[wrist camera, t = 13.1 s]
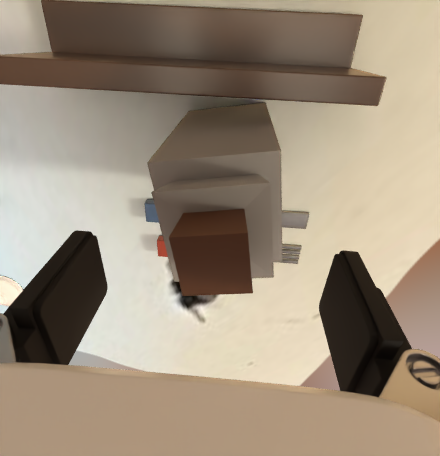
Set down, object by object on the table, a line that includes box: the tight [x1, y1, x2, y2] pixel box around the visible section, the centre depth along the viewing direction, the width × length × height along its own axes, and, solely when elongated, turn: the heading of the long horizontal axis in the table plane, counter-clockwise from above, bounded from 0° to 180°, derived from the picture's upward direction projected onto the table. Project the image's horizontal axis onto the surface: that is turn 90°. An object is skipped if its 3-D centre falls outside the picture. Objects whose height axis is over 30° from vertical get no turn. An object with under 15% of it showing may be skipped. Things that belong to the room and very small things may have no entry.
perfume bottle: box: [147, 103, 282, 296], centre depth 21 cm, size 7×7×18 cm
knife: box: [145, 200, 309, 229], centre depth 32 cm, size 2×17×1 cm, turn 88°
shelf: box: [0, 0, 386, 106], centre depth 21 cm, size 5×24×8 cm, turn 87°
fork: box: [157, 236, 301, 264], centre depth 34 cm, size 3×16×1 cm, turn 88°
